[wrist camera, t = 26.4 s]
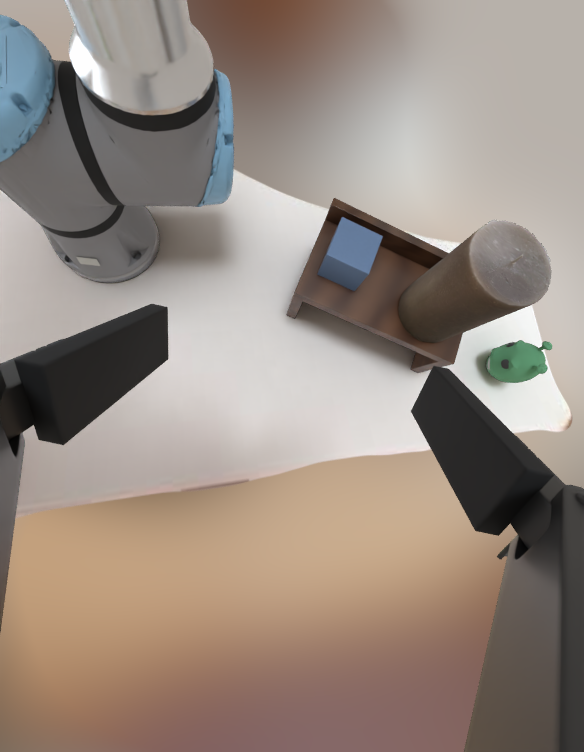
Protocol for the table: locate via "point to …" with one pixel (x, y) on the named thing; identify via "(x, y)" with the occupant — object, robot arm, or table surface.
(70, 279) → the table surface
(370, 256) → the slate box
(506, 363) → the alien toy
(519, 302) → the pillar candle
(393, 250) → the shelf
